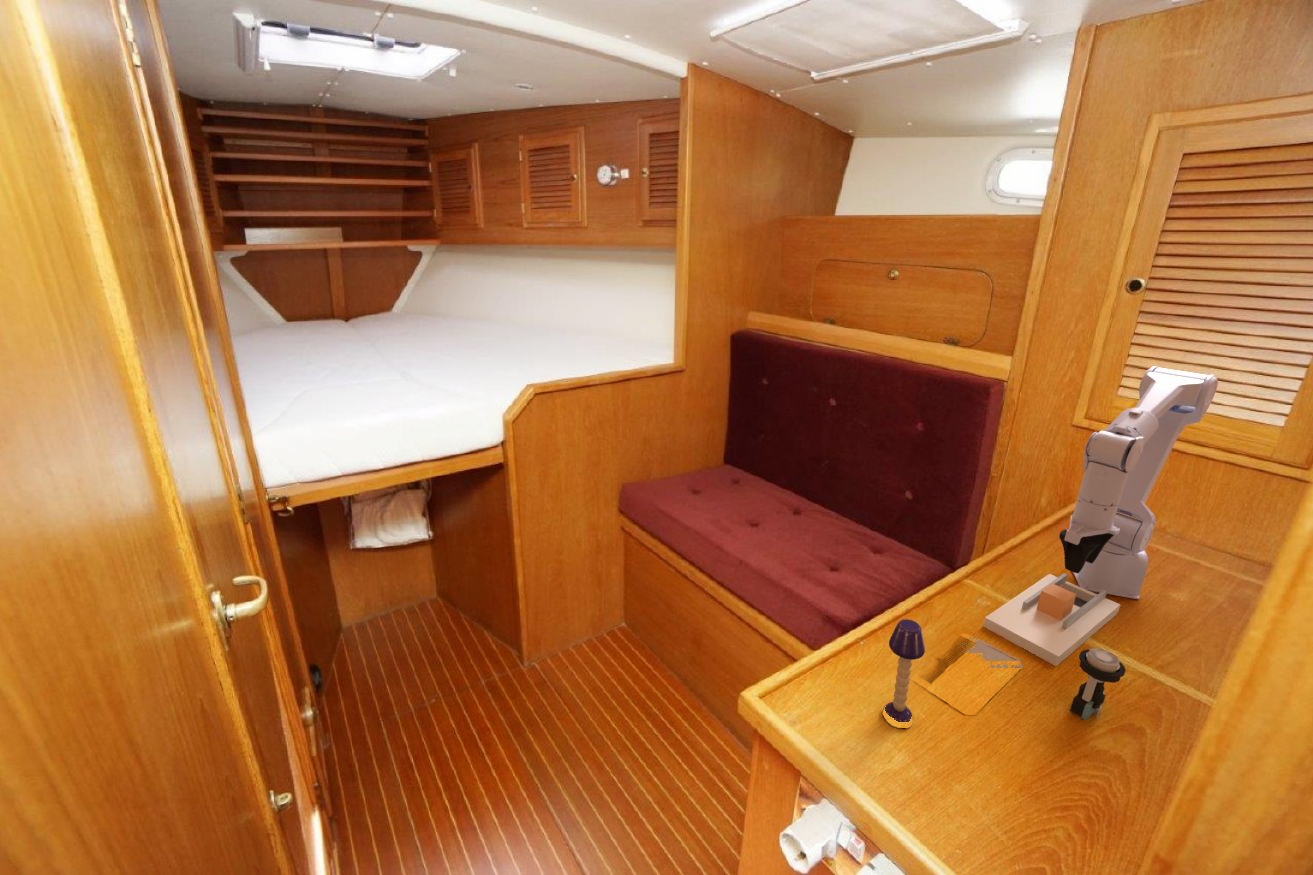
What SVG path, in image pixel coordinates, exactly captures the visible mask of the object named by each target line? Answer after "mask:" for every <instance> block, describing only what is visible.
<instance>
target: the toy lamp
mask: <svg viewBox="0 0 1313 875" xmlns="http://www.w3.org/2000/svg"><path fill="white" fill-rule="evenodd" d="M888 642H889V643H888V646H889V649H890V650H891V651H892V653H894V654H895V655H896V656H898V659H897V660H898V661H897V663H898V665H897V669H896V673H897V674H896V676H895V684H894V689H895V690H894V692H893V701H891V702H888V703H887V704H886V705H885V706H886V707H885V706H884V707H885V711H886V713H887V714H888V715H889V716H890V717H892V718H894V720H896V721H898V722H909V721H910V719H911V717H912V715H913V713H912V711H911V709H910V708H909V707H908V706H907V702H906V701H907V699H908V693H909V684H910V682H911V679H910V677H911V673H912V672H911V668H912V665H913V661H914V660H920V659H921V658H922V657H924V655H925V653H926V647H925V640H924V635H923V630H922V627H921V625H920V624H919V623H918V622H917V621H915V620H913V619H908V618H907V619H906V618H905V619H900V621H898V622H897V624H896V626H895V628H894V629H893V632H892V634H891V636H890V638H889V641H888ZM912 660H913V661H912Z"/></svg>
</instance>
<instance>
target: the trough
mask: <svg viewBox="0 0 1313 875" xmlns="http://www.w3.org/2000/svg"><path fill="white" fill-rule="evenodd" d="M1068 576H1069V574H1068V573H1066V572H1063V574H1060V576H1055V575H1053V574H1051V573H1049V574H1047V575H1045V576H1044V577H1043V578H1041V579H1039V580H1038V581H1037V582H1035V583H1034V584H1032V585H1031V586H1029V587H1027V588H1026V589H1025V590H1024V591H1021V593H1019V594H1017V595H1016V596H1015V597H1013V598H1011V599H1010V600H1008V601H1006V603H1004V604H1002V605H1001V606H1000V607H999V608H997V609H995V610H994V611H992V612H991V613H989V614H988V615H986V616H985V617H984V621H983V625H982V627H983V628H985V627H986V628H985V629H987V630H989V631H991V632H993V633H994V632H995V633H994V634H996V633H997V634H996V635H998V636H1000V637H1001V636H1002V637H1001V638H1003V637H1004V638H1003V639H1004V640H1007V641H1009V642H1011V643H1013V644H1014V645H1016V646H1018V647H1019V648H1022V647H1023V648H1024V649H1023V648H1022V649H1023V650H1025V649H1026V650H1025V651H1027V650H1028V651H1027V652H1029V653H1031V654H1033V655H1034V654H1035V655H1034V656H1037V657H1038V658H1040V659H1042V660H1043V661H1046V662H1048V663H1049V664H1051V665H1053V666H1055V667H1057V666H1058V665H1059V664H1061V663H1062V662H1063V661H1064V660H1065V659H1067V658H1068V657H1069V656H1070V655H1071V654H1072V653H1074V652H1075V651H1076V650H1077V649H1078V648H1079V647H1080V646H1081V645H1083V644H1084V643H1085V642H1086V641H1087V640H1089V639H1090V638H1091V637H1092V636H1093V635H1094V634H1096V633H1097V632H1098V631H1099V630H1100V629H1101V628H1102V627H1104V626H1105V625H1106V624H1107V623H1108V622H1110V620H1112V619H1113V618H1115V616H1116V615H1118V613H1119V610H1120V607H1121V604H1120V603H1117V601H1114V600H1111V599H1108V598H1106V597H1107V595H1108V594H1107V591H1106V590H1103V591H1101V592H1100V593H1099V592H1098V594H1097V593H1096V592H1093V591H1088V590H1086V589H1084V588H1081V587H1080V586H1079V585H1076V584H1075V583H1072V582H1070V581H1067V580H1068ZM1052 583H1053V584H1055V585H1057V586H1059V587H1062V588H1064V589H1066V590H1068V591H1071V592H1073V593H1075V594H1076V598H1075V601H1074V605H1073V608H1072V611H1071V613H1070V614H1069V615H1067V616H1066V617H1065V618H1064V619H1062V620H1061V621H1060V620H1058V619H1056V618H1054V617H1052V616H1050V615H1048V614H1046V613H1044V612H1042V611H1040V610H1037V605H1038V602H1039V598H1040V594H1041V591H1042V590H1043V589H1044V588H1046V587H1047V586H1049V585H1050V584H1052Z"/></svg>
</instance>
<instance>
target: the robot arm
mask: <svg viewBox="0 0 1313 875" xmlns="http://www.w3.org/2000/svg"><path fill="white" fill-rule="evenodd" d="M1218 385H1219V380H1218V378H1217V376H1216V375H1215V374H1209V375H1208V374H1202V373H1198V372H1197V373H1196V372H1192V371H1191V372H1190V371H1185V370H1184V371H1183V370H1178V369H1169V368H1163V367H1159V366H1156V365H1155V366H1151V367H1150V368H1148V369H1146V371H1145V372H1144V374H1143V376H1142V378H1141V380H1140V384H1139V388H1138V394H1139V401H1138V403H1136V405H1135V407H1129V408H1126V409H1124V410H1123V411H1121V412H1120V413H1119V415H1118V416H1117V417H1115V419H1114V420H1113V421H1112V422H1111V423H1110V424H1109V425H1108V426H1107V427H1106V428H1105V430H1100V431H1098V432H1097V431H1095V432H1092V434H1090V436H1089V438H1088V439H1087V441H1086V444H1085V447H1084V450H1083V464H1082V471H1084V473H1083V476H1082V479H1081V480H1082V481H1081V484H1080V488H1079V492H1078V496H1077V498H1076V503H1075V507H1074V510H1073V514H1071V516H1070V519H1069V526H1068V529H1063V530H1062V531H1060V532H1059V536H1058V537H1059V540H1060V542H1061V544H1062V547H1063V554H1064V555H1063V557H1064V569H1065V570H1068V571H1069V572H1072V573H1073V575H1074V577H1075V579H1076V581H1077V584H1078V586H1079V587H1081V588H1084V589H1086V590H1088V591H1090V592H1093V593H1098V594H1099V593H1100V592H1101V591H1103V590H1106V591H1107V594H1106V595H1110V596H1111V595H1112V596H1117V597H1124V598H1128V599H1135V600H1139V599H1140V598H1141V597H1140V591H1141V590H1142V586H1143V582H1144V579H1145V577H1146V574H1147V572H1148V565H1149V558H1148V554H1147V552H1146V550H1145V549H1146V548H1147V547H1148V545H1149V543H1150V541H1151V538H1152V537H1153V536H1152V535H1153V532H1154V528H1155V526H1156V524H1157V520H1156V515H1155V514H1154V512H1153V511H1152V510H1151V509H1150V508H1149V507H1148V506H1147V505H1146V502H1147V500H1148V498H1149V496H1150V493H1151V492H1152V490H1153V487H1154V486H1155V484H1156V481H1157V480H1158V477H1159V475H1160V474H1161V471H1162V470H1163V469H1164V468H1163V467H1164V466H1165V463H1166V462H1167V459H1168V457H1169V455H1170V453H1171V452H1172V450H1173V448H1174V445H1175V443H1176V441H1177V440H1178V438H1179V436H1180V434H1181V433H1182V432H1183V431H1184V429H1185V428H1186V426H1187V425H1191V424H1192V425H1193V424H1198V423H1200V422H1201V421H1202V418H1204V416H1205V415H1206V413H1207V411H1208V409H1209V407H1210V405H1211V403H1212V402H1213V399H1214V398H1215V394H1216V392H1217V388H1218Z"/></svg>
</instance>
